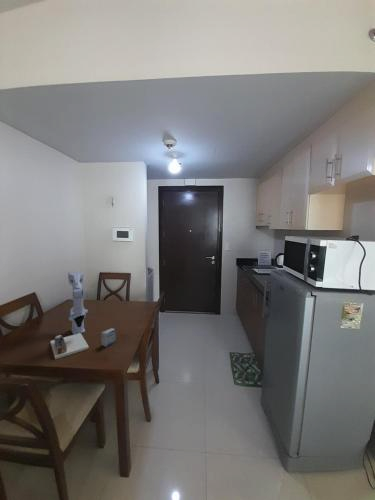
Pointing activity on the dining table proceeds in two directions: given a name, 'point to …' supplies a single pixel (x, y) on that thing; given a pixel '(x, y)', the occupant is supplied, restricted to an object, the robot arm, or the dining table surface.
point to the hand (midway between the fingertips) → (79, 326)
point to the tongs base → (58, 346)
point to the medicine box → (108, 337)
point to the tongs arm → (62, 343)
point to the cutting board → (71, 345)
